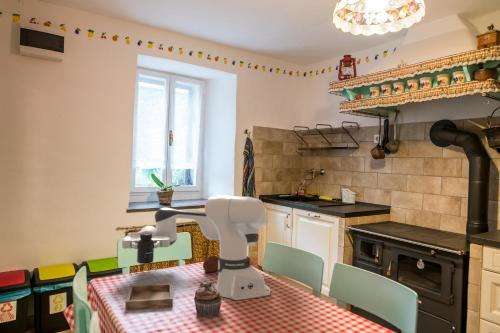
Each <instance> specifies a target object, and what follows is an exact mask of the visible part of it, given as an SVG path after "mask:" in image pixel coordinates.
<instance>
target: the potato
mask: <svg viewBox="0 0 500 333" xmlns="http://www.w3.org/2000/svg"><path fill="white" fill-rule="evenodd" d="M218 260H219V256H215V255H211V256H208V257H206V259H204V261H203V263H202V267H203V270H204V271H205V272H206V273H208V274H210V273H214V272H216V271H219V270H218Z"/></svg>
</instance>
